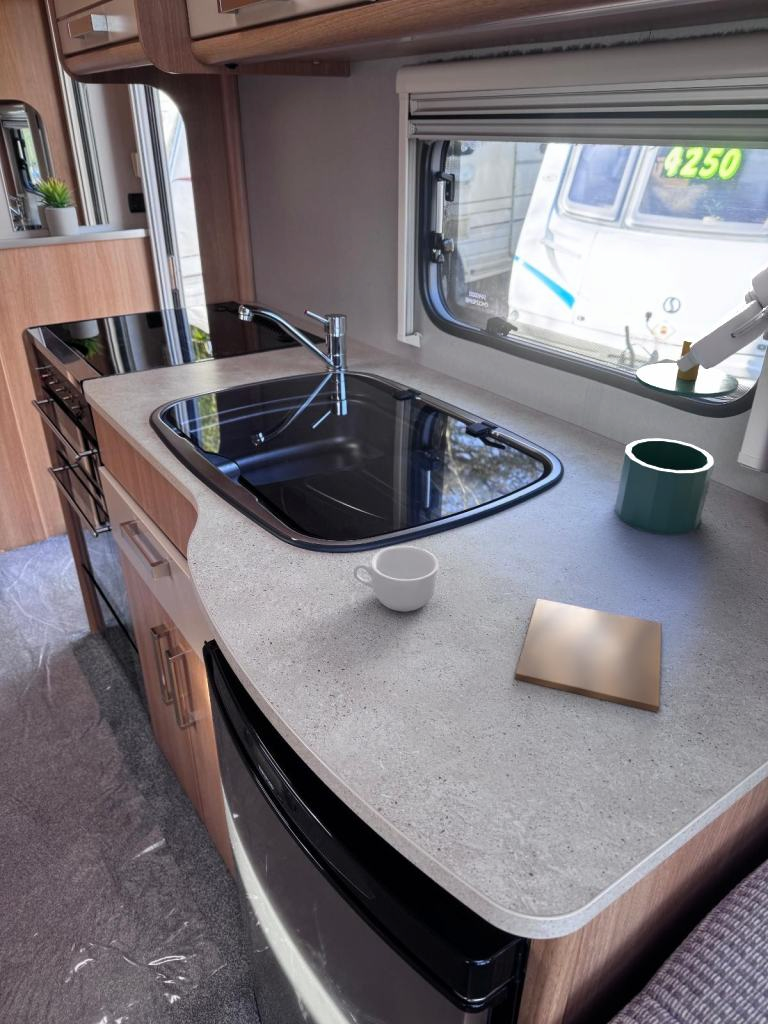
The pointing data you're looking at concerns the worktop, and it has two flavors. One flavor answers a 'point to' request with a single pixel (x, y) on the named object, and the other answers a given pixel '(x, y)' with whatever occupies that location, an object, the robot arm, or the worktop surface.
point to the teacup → (401, 577)
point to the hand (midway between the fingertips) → (684, 362)
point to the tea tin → (663, 486)
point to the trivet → (593, 654)
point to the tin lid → (687, 378)
